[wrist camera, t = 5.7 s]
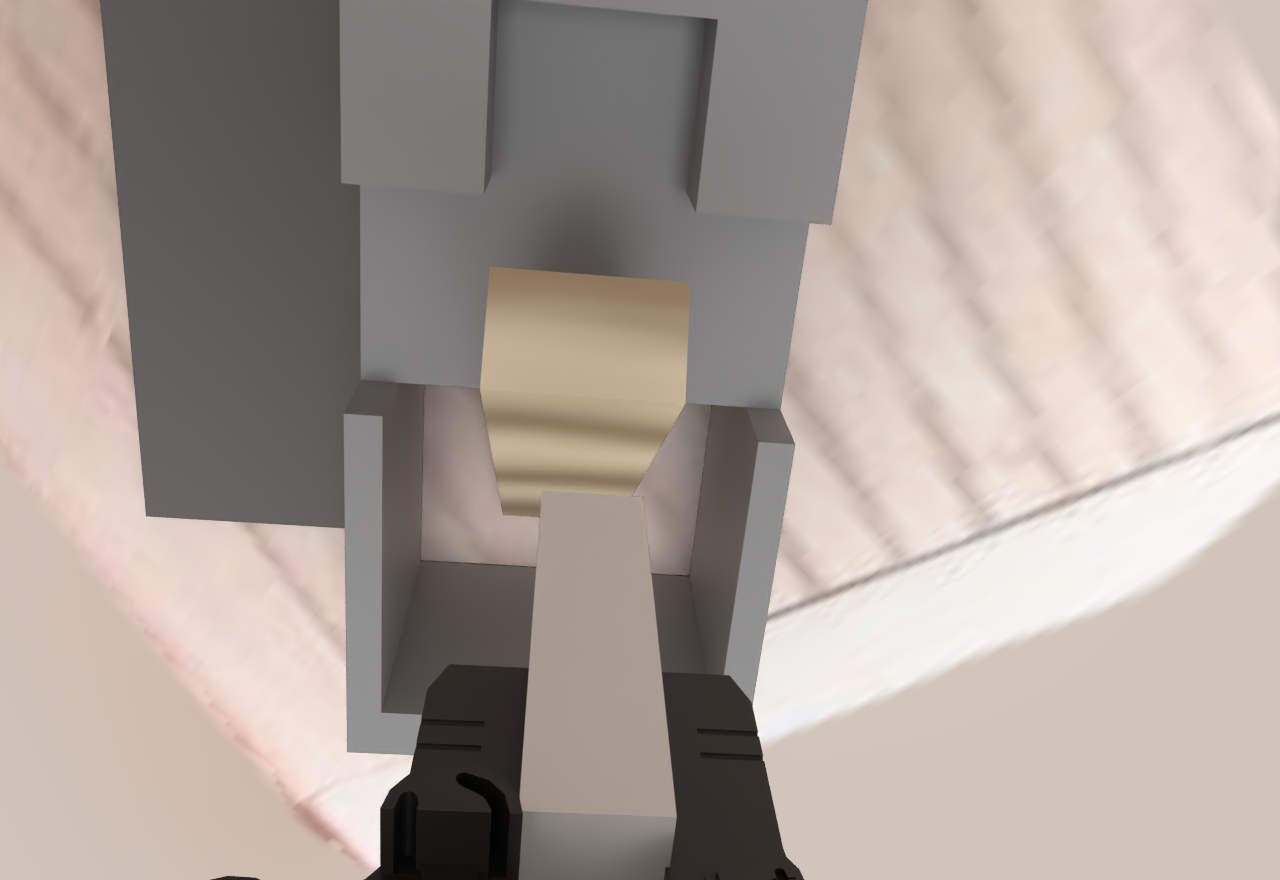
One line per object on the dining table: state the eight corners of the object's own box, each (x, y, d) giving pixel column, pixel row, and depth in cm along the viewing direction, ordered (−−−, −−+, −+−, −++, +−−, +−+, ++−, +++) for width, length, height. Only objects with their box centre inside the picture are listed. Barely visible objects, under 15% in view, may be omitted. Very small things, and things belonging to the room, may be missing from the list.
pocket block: (399, -83, 33) (338, -92, 25) (802, -40, 34) (873, -36, 26) (392, 594, 42) (346, 752, 34) (710, 611, 43) (742, 769, 35)
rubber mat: (98, -114, 32) (90, -115, 32) (381, -84, 33) (378, -85, 32) (152, 508, 40) (146, 516, 40) (379, 522, 41) (376, 530, 40)
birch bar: (490, 266, 22) (479, 389, 22) (690, 282, 23) (685, 403, 22) (508, 444, 40) (503, 514, 39) (620, 452, 40) (617, 521, 40)
